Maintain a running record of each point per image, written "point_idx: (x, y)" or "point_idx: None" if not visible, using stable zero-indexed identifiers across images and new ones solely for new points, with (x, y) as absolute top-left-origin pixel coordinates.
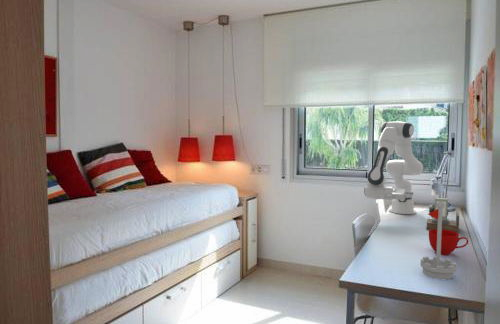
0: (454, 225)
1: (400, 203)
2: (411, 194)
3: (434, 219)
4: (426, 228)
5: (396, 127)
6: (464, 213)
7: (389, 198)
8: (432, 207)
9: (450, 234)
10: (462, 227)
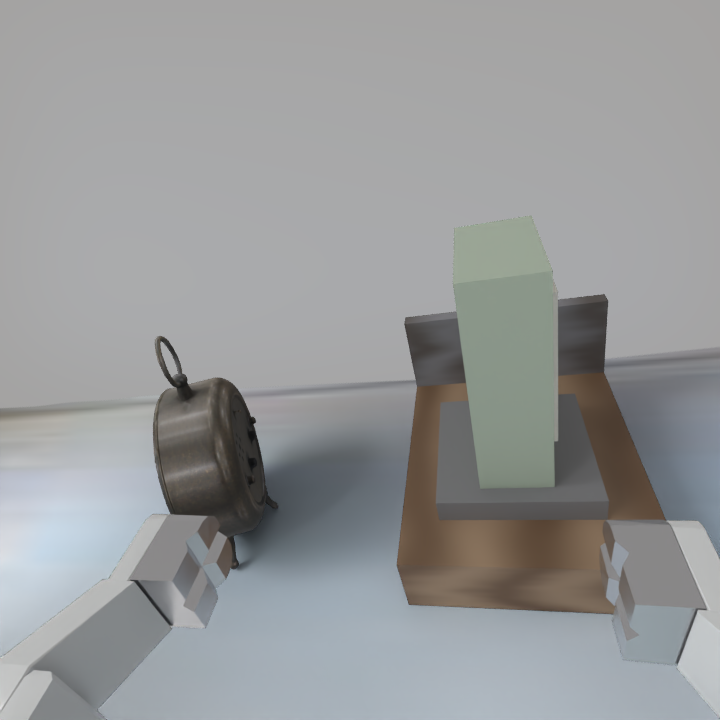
0: (596, 382)
1: None
2: (210, 579)
3: (555, 483)
4: None
5: None
6: (19, 407)
7: None
8: (203, 466)
9: None
10: (399, 397)
